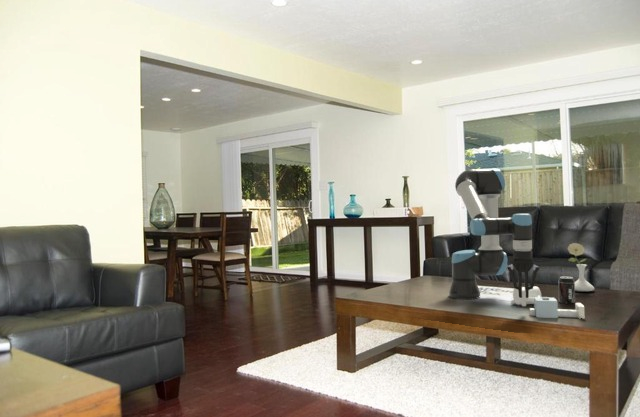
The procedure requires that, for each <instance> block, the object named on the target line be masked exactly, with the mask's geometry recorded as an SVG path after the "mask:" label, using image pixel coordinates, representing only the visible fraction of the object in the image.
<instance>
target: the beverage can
mask: <svg viewBox="0 0 640 417" xmlns="http://www.w3.org/2000/svg"><path fill="white" fill-rule="evenodd" d="M575 282H576V281H575V279H574V277H573V276H567V275H566V276H565V275H563V276H559V278H558V283H557V284H558V301H559V302H560V303H561V304H564V305H565V304H566V305H571V304H573V303H576V291H575Z"/></svg>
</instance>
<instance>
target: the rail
mask: <svg viewBox="0 0 640 417" xmlns="http://www.w3.org/2000/svg"><path fill="white" fill-rule="evenodd" d="M574 303H575V304H574V305H575V308H574V309H563V308H562V309H561V308H558V318H577V319H579V320H581V318H582V320H585V319H586V318H585V306H584V304H582V303H581V302H574ZM529 315H530V316H531V317H536V308H532V307H529Z"/></svg>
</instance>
